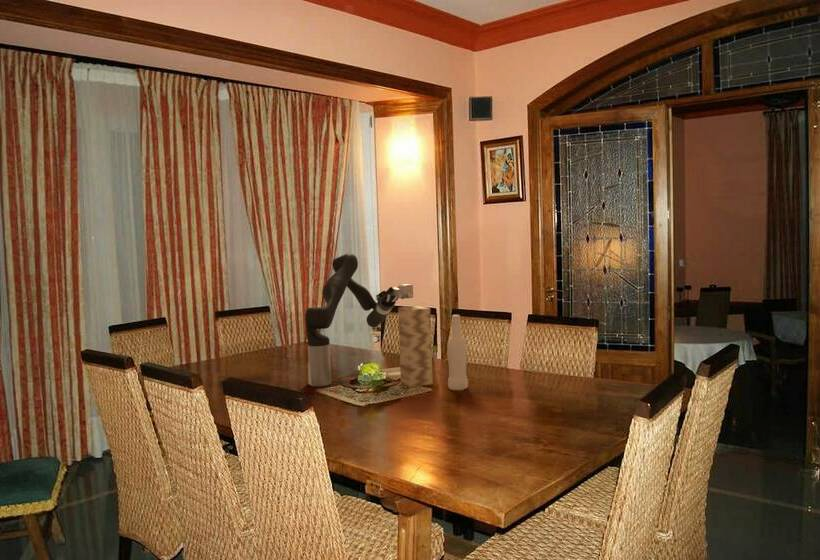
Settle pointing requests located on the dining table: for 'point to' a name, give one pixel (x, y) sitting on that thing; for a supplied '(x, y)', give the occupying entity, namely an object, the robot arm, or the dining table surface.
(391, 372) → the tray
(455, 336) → the bottle
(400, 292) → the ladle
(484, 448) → the dining table surface
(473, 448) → the dining table surface
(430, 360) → the brown wavy-grained wooden cylinder
